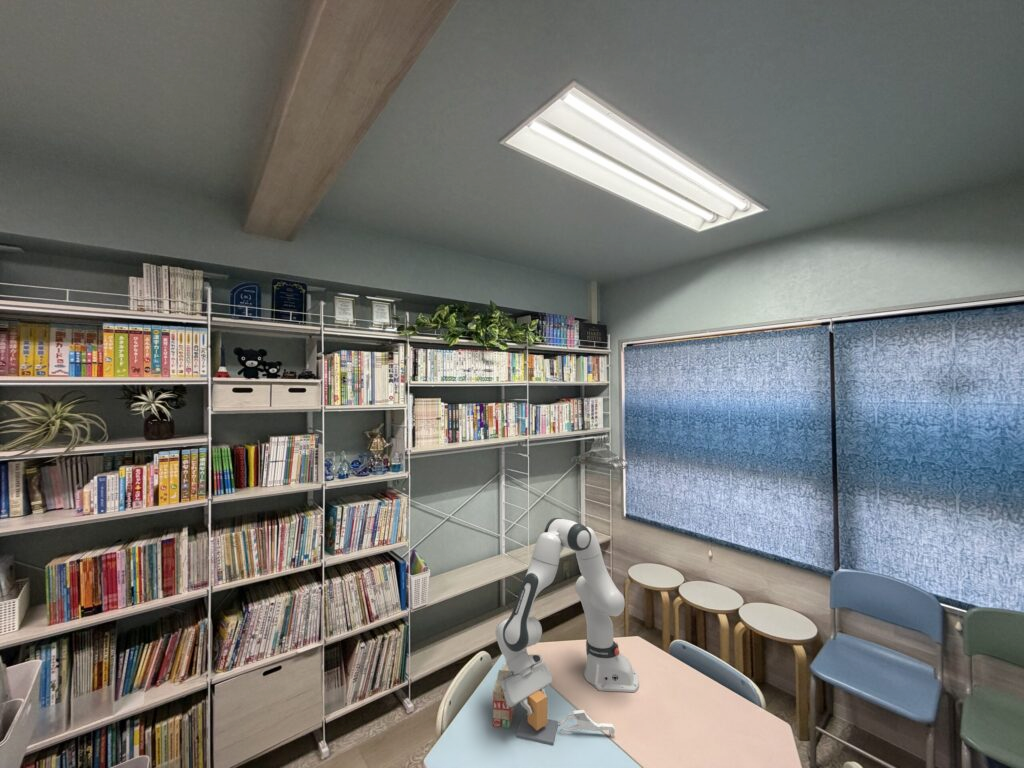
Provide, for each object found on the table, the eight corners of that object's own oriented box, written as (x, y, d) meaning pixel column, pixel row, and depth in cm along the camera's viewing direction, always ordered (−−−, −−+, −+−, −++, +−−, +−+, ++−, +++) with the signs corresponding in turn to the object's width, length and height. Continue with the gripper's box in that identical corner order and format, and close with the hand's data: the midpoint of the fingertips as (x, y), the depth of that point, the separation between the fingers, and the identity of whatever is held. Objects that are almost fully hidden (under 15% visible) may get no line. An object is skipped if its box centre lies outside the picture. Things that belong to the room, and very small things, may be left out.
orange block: (537, 715, 143) (537, 689, 144) (547, 723, 139) (547, 696, 140) (527, 722, 140) (527, 695, 141) (537, 730, 136) (536, 702, 137)
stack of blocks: (503, 687, 162) (502, 655, 163) (518, 689, 161) (517, 657, 162) (492, 727, 141) (492, 690, 142) (510, 729, 140) (509, 692, 141)
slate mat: (558, 723, 142) (558, 721, 142) (553, 745, 133) (553, 742, 133) (523, 716, 146) (523, 714, 146) (516, 737, 136) (516, 734, 136)
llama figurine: (569, 754, 137) (617, 736, 136) (556, 721, 138) (603, 703, 137) (569, 749, 138) (616, 732, 137) (556, 717, 140) (603, 699, 139)
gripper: (502, 674, 140) (520, 720, 131) (543, 653, 153) (562, 693, 144) (494, 681, 143) (512, 726, 134) (536, 660, 156) (554, 699, 147)
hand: (538, 709), depth 139 cm, fingers closed on orange block, 5 cm apart
